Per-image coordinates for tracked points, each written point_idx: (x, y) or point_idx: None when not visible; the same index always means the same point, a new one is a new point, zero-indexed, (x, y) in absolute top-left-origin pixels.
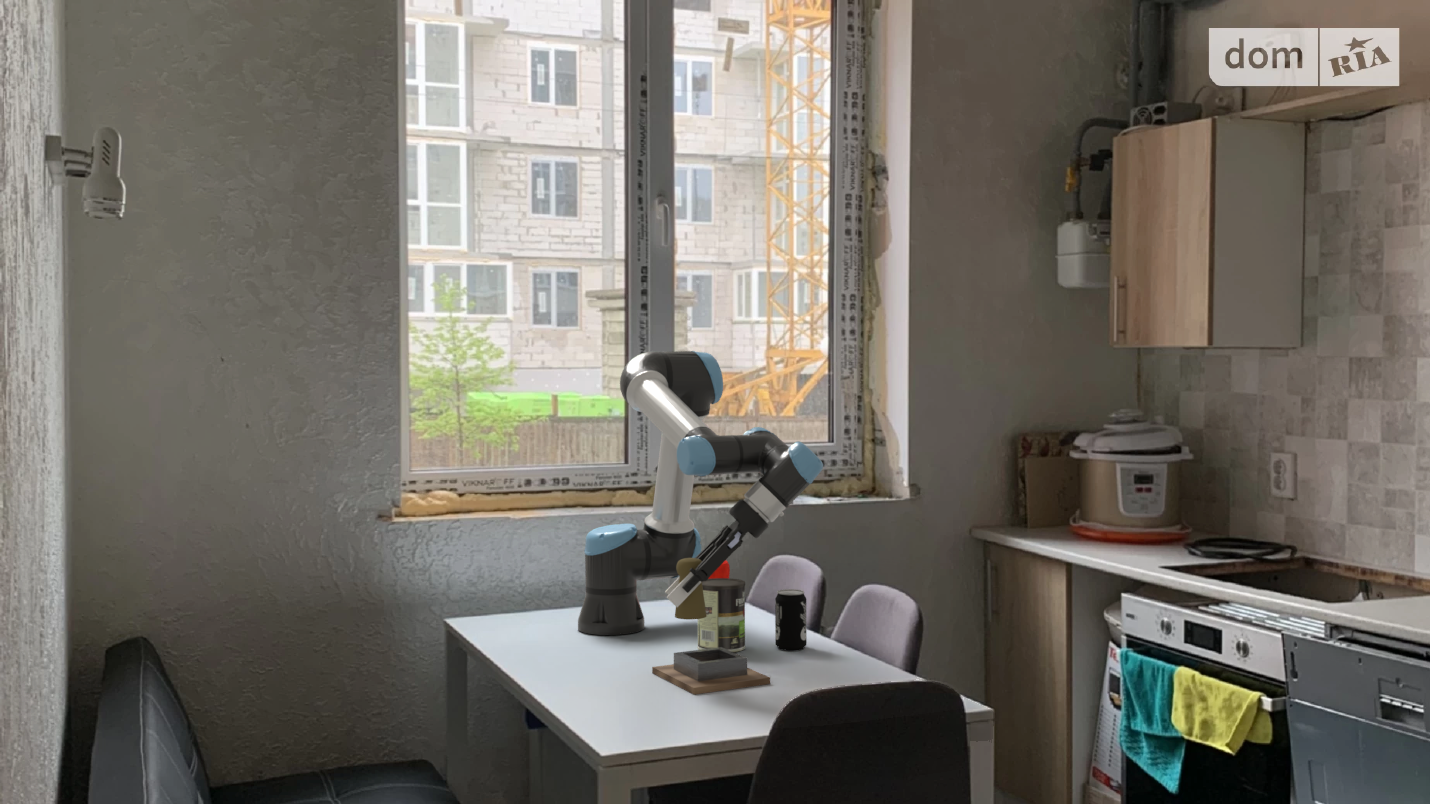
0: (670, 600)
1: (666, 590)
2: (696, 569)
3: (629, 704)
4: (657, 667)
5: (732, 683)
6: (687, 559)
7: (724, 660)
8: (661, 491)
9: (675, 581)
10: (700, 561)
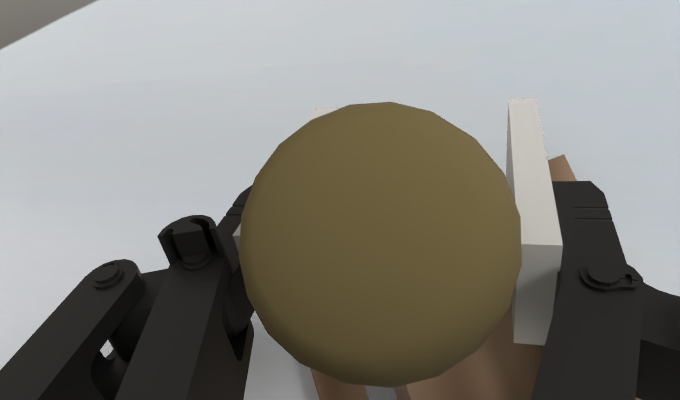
0: None
1: (522, 104)
2: (166, 275)
3: (230, 99)
4: (552, 171)
5: (317, 391)
6: (301, 195)
7: (371, 390)
8: None
9: (513, 147)
10: (292, 345)
